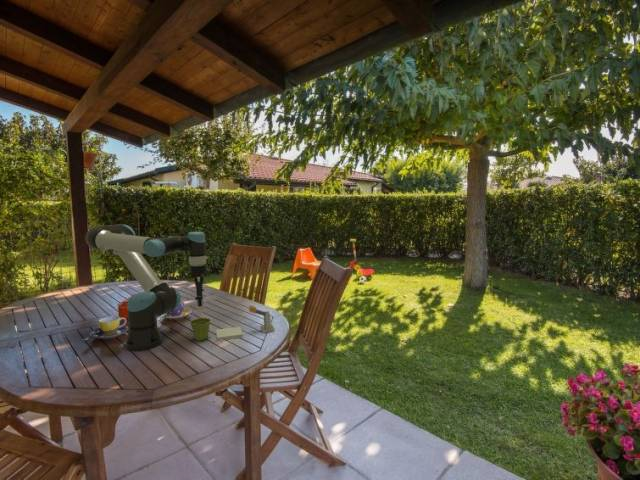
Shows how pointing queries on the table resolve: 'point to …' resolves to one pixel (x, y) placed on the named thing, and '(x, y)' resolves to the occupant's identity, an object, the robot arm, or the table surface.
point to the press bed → (229, 333)
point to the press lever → (257, 311)
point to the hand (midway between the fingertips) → (200, 308)
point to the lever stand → (267, 324)
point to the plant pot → (200, 328)
